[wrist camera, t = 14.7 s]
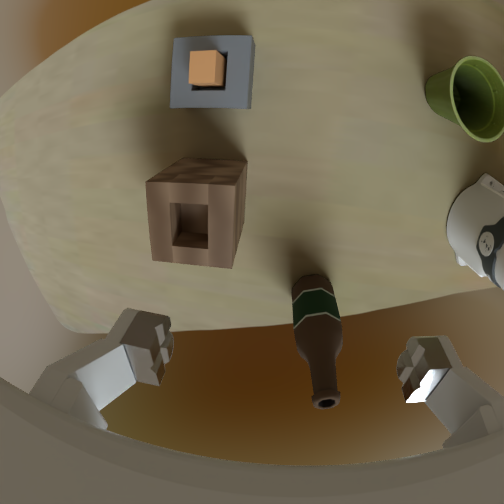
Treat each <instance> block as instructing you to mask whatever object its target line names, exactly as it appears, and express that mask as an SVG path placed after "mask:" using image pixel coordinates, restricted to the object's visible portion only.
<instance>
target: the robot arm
mask: <svg viewBox="0 0 504 504" xmlns="http://www.w3.org/2000/svg"><path fill="white" fill-rule="evenodd" d="M447 237H448V240H449V243H450V245H451V247H452V248H453V249H454V251H455V253H456V260H457V263H458V264H459V265H461V266H465V265H468V266H469V267H470V268H471V269H473V270H474V271H475V272H476V273H477V274H478V275H479V276H481V277H483V276H488V278H489V279H490V280H491V281H492V282H493V283H494V284H495V285H496V286H498V287H500V288H502V289H503V290H504V186H503V185H502V184H501V183H499V182H498V181H497V180H495V179H494V178H493V177H491V176H490V175H489V174H487V173H485V174H483V175H482V176H481V177H480V179H479V180H478V181H477V183H475V184H474V185H472V186H470V187H468V188H467V189H465V190H464V191H463V192H462V193H461V194H460V195H459V196H458V197H457V199H456V200H455V202H454V204H453V206H452V208H451V210H450V213H449V216H448V221H447ZM170 327H171V322H170V317H168V316H165V315H160V314H155V313H151V312H146V311H139V310H135V309H131V308H127V309H125V310H124V311H123V312H122V314H121V315H120V317H119V318H118V320H117V321H116V323H115V324H114V326H113V327H112V329H111V330H110V332H109V334H108V335H107V337H106V338H105V339H99V340H97V341H95V342H94V343H92V344H90V345H88V346H86V347H84V348H82V349H80V350H78V351H76V352H74V353H72V354H71V355H68V356H66V357H65V358H63V359H61V360H59V361H57V362H55V363H53V364H51V365H49V366H47V367H46V369H45V370H44V371H43V373H42V374H41V376H40V378H39V379H38V381H37V382H36V384H35V385H34V387H33V388H32V390H31V391H30V393H29V394H28V393H26V392H24V391H22V390H21V389H19V388H17V387H15V386H14V385H12V384H10V383H9V382H7V381H6V380H4V379H3V378H1V377H0V504H504V397H503V396H502V395H500V394H499V393H498V392H497V391H496V390H494V389H493V388H492V387H491V386H489V385H488V384H487V383H486V382H485V381H483V380H482V379H481V378H480V377H478V376H477V375H476V374H475V373H473V372H472V371H471V370H470V369H468V368H467V367H463V365H462V363H461V361H460V359H459V357H458V355H457V353H456V351H455V349H454V347H453V345H452V343H451V342H450V340H449V338H448V337H447V336H425V337H411V338H410V339H409V340H408V342H407V344H406V346H407V350H405V351H404V352H403V353H401V355H400V357H399V359H398V363H397V374H398V378H399V379H400V380H401V381H402V382H403V383H404V384H403V386H402V391H403V395H404V398H405V402H406V403H409V402H420V401H425V403H426V405H427V406H428V407H429V408H430V409H431V410H432V412H433V413H434V414H435V415H436V416H437V417H438V419H439V420H440V421H441V422H442V423H443V424H444V426H445V427H446V428H447V429H448V430H449V432H450V433H451V434H452V435H451V436H450V437H449V438H448V439H447V440H445V441H444V443H443V449H441V450H437V451H433V452H429V453H424V454H420V455H415V456H410V457H404V458H398V459H392V460H385V461H377V462H369V463H359V464H347V465H327V466H288V465H269V464H256V463H246V462H237V461H229V460H222V459H216V458H210V457H204V456H198V455H194V454H188V453H184V452H179V451H175V450H171V449H167V448H163V447H158V446H155V445H151V444H148V443H144V442H141V441H138V440H134V439H131V438H128V437H125V436H122V435H119V434H116V433H113V432H111V431H108V430H106V428H107V426H108V425H107V423H106V421H105V419H104V418H103V416H102V415H101V413H100V412H99V410H101V409H102V408H103V407H105V406H106V405H107V404H109V403H110V402H111V401H113V400H114V399H115V398H116V397H118V396H119V395H120V394H122V393H123V392H124V391H126V390H127V389H128V388H129V387H130V386H132V385H133V384H135V383H136V381H139V382H143V383H148V384H152V385H157V386H160V384H161V381H162V378H163V376H164V373H165V367H164V364H165V363H167V362H169V361H170V358H171V355H172V351H173V335H172V334H171V332H170V331H169V329H170Z"/></svg>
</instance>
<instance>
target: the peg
mask: <svg viewBox="0 0 504 504" xmlns="http://www.w3.org/2000/svg"><path fill="white" fill-rule="evenodd" d="M226 73H227V60H226V59H225V58H224V57H223V56H222V55H221V54H220V53H219V52H218V51H217V50H206V51H190V63H189V84H194V85H198V86H202V87H226Z"/></svg>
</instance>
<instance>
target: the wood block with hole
mask: <svg viewBox="0 0 504 504" xmlns="http://www.w3.org/2000/svg"><path fill="white" fill-rule="evenodd" d="M247 162H248V161H236V160H218V159H191V158H183V159H181V160H179V161H178V162H176V163H174V164H173V165H171V166H169V167H168V168H166V169H165V170H163V171H162V172H160V173H158V174H157V175H155V176H154V177H152V178H151V179H149V180H148V181H146V197H147V211H148V223H149V233H150V243H151V252H152V260H153V261H162V262H171V263H181V264H190V265H200V266H210V267H219V268H230V269H232V266H233V262H234V258H235V255H236V251H237V247H238V243H239V239H240V236H241V232H242V228H243V224H244V214H245V196H246V179H247Z"/></svg>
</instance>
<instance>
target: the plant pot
mask: <svg viewBox="0 0 504 504" xmlns="http://www.w3.org/2000/svg"><path fill="white" fill-rule="evenodd" d="M453 88H454V90H453ZM425 90H426V99H427V102H428V104H429V106H430V107H431V109H432V110H433V111H434V112H435V113H437V114H438V115H440V116H442V117H444V118H446V119H448V120H450V121H452V122H454V123H456V124H458V125H459V126H461V127H462V128H463V129H464V131H465V132H466V133H467V134H468V135H470V136H471V137H472V138H474V139H475V140H477V141H480V142H492V141H494V140H496V139H498V138H499V137H500V136H501V135H502V134H503V132H504V81H503V79H502V77H501V76H500V74H499V73H498V71H497V70H496V69H495V68H494V66H492V65H491V64H490V63H489V62H488V61H486V60H485V59H482V58H480V57H477V56H467V57H464V58H462V59H460V60H459V61H458V62H457V63H456V65H455V66H453V67H452V68H450V69H447V70H445V71H442V72H440V73H438V74H435V75H433V76H431V77H430V78H429V79H428V81H427V83H426V87H425Z"/></svg>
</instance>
